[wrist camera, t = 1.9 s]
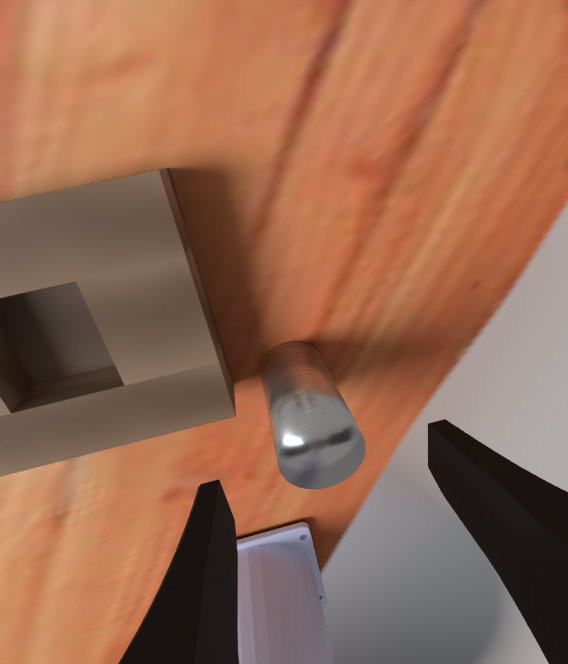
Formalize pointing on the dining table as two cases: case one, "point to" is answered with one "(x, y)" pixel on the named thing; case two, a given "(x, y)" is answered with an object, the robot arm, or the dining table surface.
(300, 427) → the pin
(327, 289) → the dining table surface
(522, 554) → the robot arm
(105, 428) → the bore block
